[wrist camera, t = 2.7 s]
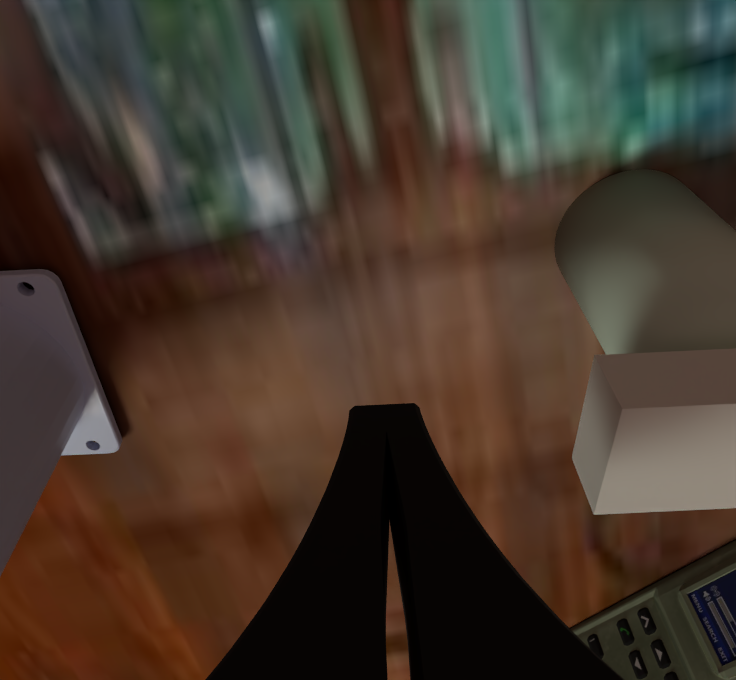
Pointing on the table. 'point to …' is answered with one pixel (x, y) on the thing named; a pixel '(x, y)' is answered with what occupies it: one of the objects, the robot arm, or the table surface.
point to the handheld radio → (673, 625)
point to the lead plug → (650, 265)
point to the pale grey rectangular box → (659, 432)
